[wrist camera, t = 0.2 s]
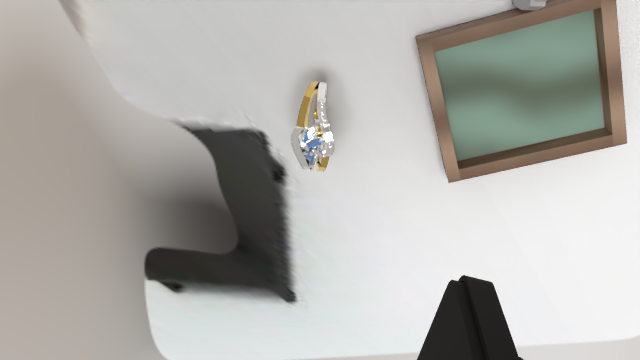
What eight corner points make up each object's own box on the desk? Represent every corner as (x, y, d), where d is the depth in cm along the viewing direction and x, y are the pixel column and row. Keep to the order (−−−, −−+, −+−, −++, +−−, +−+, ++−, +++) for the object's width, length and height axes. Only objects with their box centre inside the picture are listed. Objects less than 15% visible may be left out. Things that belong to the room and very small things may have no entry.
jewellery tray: (415, 36, 45) (417, 42, 42) (602, -15, 42) (615, -11, 40) (445, 171, 49) (448, 182, 47) (615, 132, 47) (627, 143, 44)
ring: (333, 151, 49) (327, 192, 42) (297, 146, 49) (285, 186, 42) (344, 73, 46) (340, 103, 39) (306, 68, 46) (294, 97, 39)
